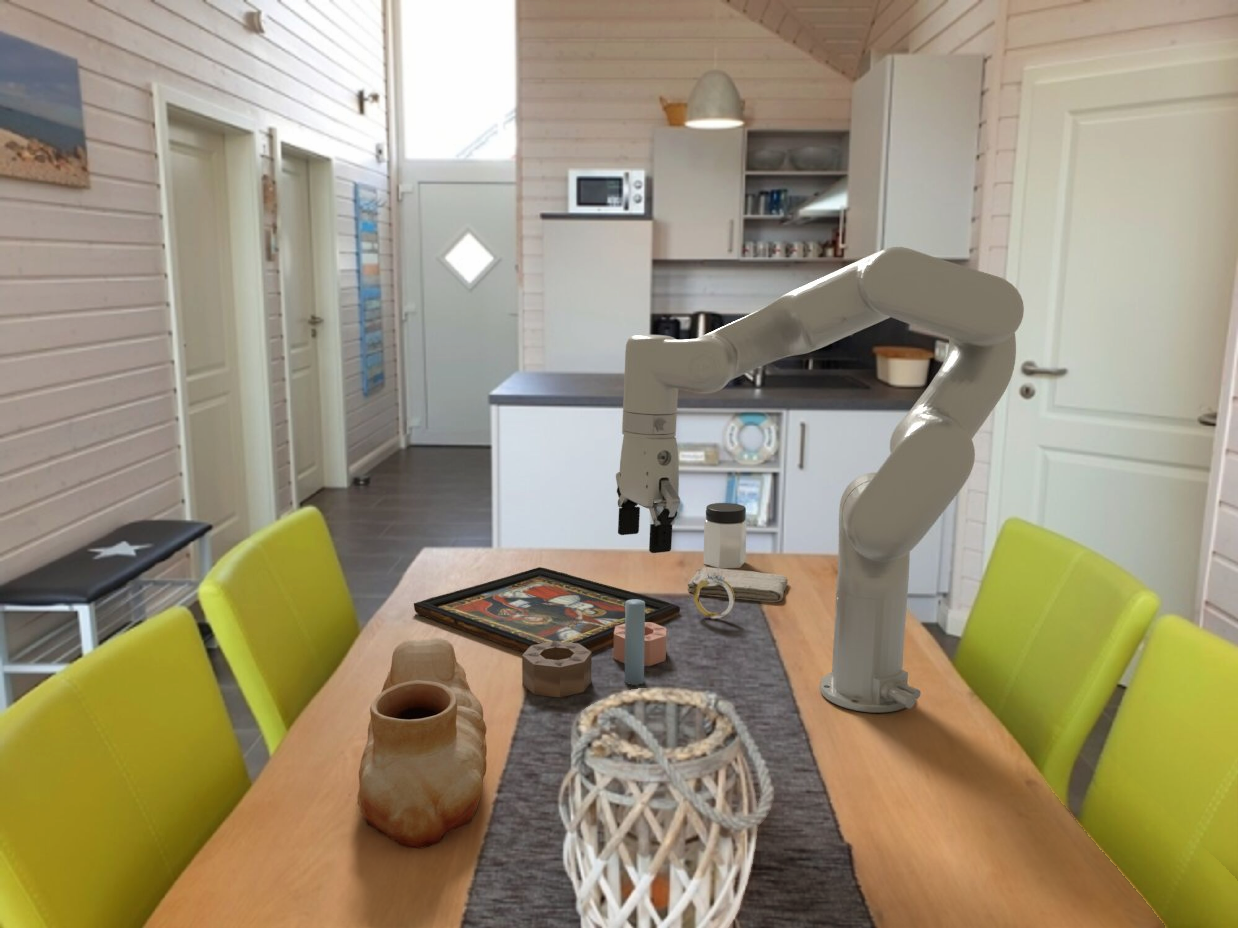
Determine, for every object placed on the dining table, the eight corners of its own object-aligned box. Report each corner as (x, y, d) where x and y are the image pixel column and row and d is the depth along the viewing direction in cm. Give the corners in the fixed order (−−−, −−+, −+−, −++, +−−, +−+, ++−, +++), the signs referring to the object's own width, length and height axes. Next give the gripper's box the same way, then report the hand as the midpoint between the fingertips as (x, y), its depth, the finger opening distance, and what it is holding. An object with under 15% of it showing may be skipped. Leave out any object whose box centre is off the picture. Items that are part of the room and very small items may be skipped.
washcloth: (697, 577, 189) (698, 562, 189) (788, 586, 185) (789, 570, 184) (685, 596, 178) (685, 580, 178) (782, 605, 173) (782, 589, 173)
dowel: (647, 682, 138) (648, 603, 136) (631, 686, 136) (632, 606, 134) (637, 676, 140) (638, 598, 138) (620, 679, 139) (621, 601, 137)
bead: (600, 687, 136) (600, 658, 135) (542, 701, 131) (542, 670, 130) (570, 665, 144) (570, 637, 143) (514, 678, 139) (514, 648, 138)
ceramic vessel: (486, 731, 122) (484, 620, 120) (488, 849, 97) (486, 711, 94) (376, 738, 120) (371, 625, 118) (348, 859, 95) (341, 719, 92)
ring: (735, 619, 165) (737, 574, 163) (728, 624, 162) (730, 579, 160) (698, 612, 168) (699, 568, 166) (691, 617, 165) (692, 573, 164)
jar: (710, 555, 203) (712, 500, 201) (748, 559, 201) (750, 504, 199) (699, 566, 195) (700, 509, 193) (738, 571, 192) (740, 513, 190)
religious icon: (691, 610, 171) (692, 595, 170) (576, 675, 142) (576, 657, 141) (526, 574, 191) (526, 560, 191) (395, 624, 162) (395, 607, 162)
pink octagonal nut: (676, 656, 148) (677, 632, 147) (638, 669, 143) (638, 644, 142) (641, 641, 154) (642, 618, 153) (603, 653, 148) (603, 629, 148)
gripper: (704, 433, 127) (697, 556, 130) (644, 414, 142) (639, 525, 145) (654, 435, 124) (648, 561, 127) (598, 416, 139) (594, 529, 142)
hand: (643, 542), depth 136 cm, fingers open, 9 cm apart
